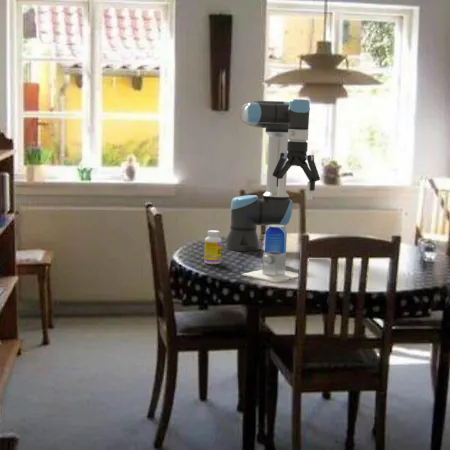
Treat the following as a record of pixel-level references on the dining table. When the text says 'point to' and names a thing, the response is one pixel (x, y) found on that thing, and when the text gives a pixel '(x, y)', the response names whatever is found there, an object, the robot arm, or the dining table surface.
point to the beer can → (275, 238)
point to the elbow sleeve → (273, 263)
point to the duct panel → (269, 278)
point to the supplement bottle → (213, 248)
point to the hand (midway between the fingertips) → (294, 197)
